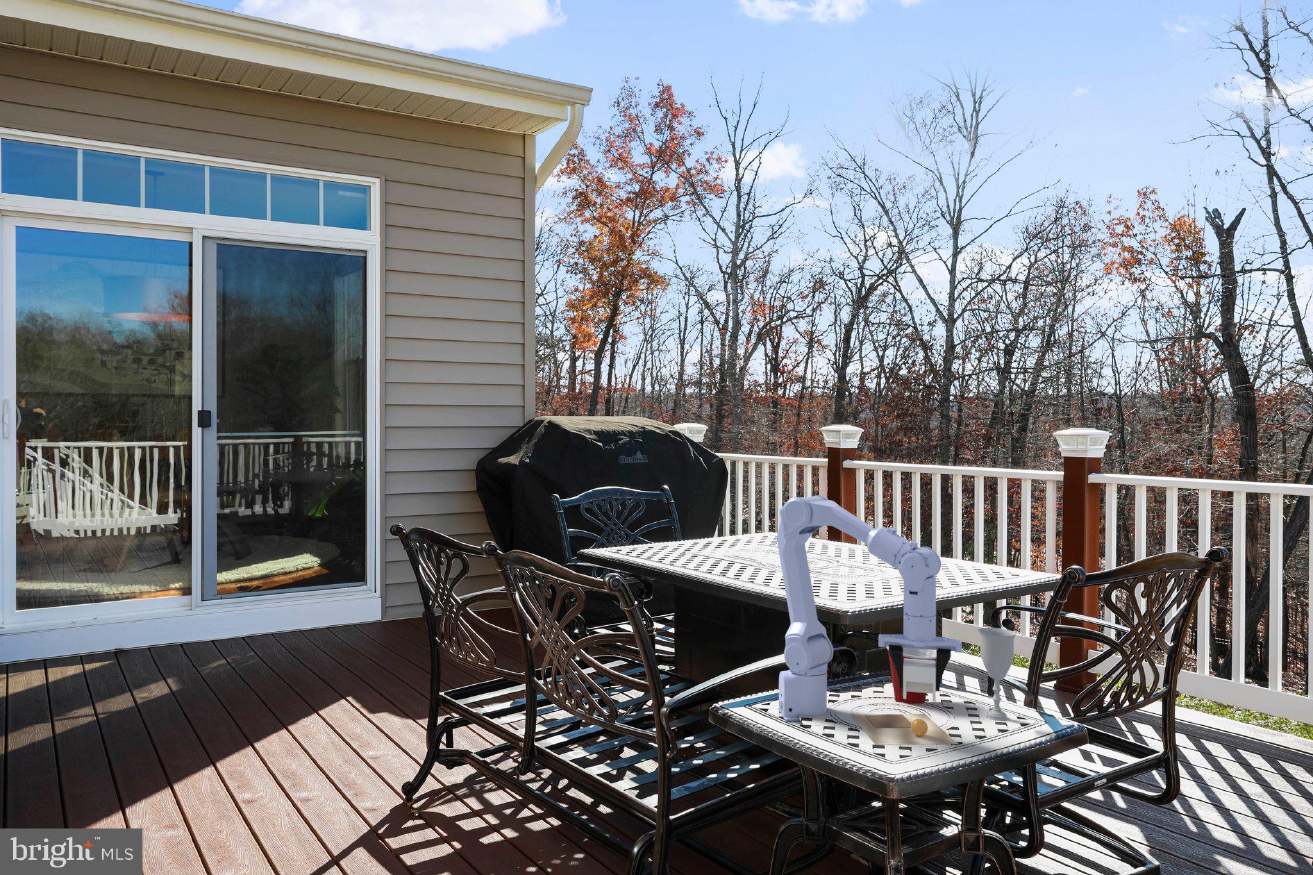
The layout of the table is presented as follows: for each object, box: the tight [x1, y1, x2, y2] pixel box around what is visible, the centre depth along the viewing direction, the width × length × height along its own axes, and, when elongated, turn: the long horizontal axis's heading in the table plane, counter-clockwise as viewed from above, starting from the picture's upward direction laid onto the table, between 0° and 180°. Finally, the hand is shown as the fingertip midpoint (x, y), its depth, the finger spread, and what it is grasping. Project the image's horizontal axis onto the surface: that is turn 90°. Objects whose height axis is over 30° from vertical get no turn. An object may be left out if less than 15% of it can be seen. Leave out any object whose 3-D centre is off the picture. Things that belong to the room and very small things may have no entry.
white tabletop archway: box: [903, 658, 937, 702], centre depth 156 cm, size 6×6×6 cm
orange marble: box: [911, 719, 928, 736], centre depth 156 cm, size 3×3×3 cm
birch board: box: [849, 713, 959, 746], centre depth 160 cm, size 15×17×1 cm
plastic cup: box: [885, 646, 936, 705], centre depth 179 cm, size 11×11×12 cm
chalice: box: [977, 627, 1017, 722], centre depth 167 cm, size 7×7×18 cm
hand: (919, 688), depth 156 cm, fingers closed on white tabletop archway, 6 cm apart
